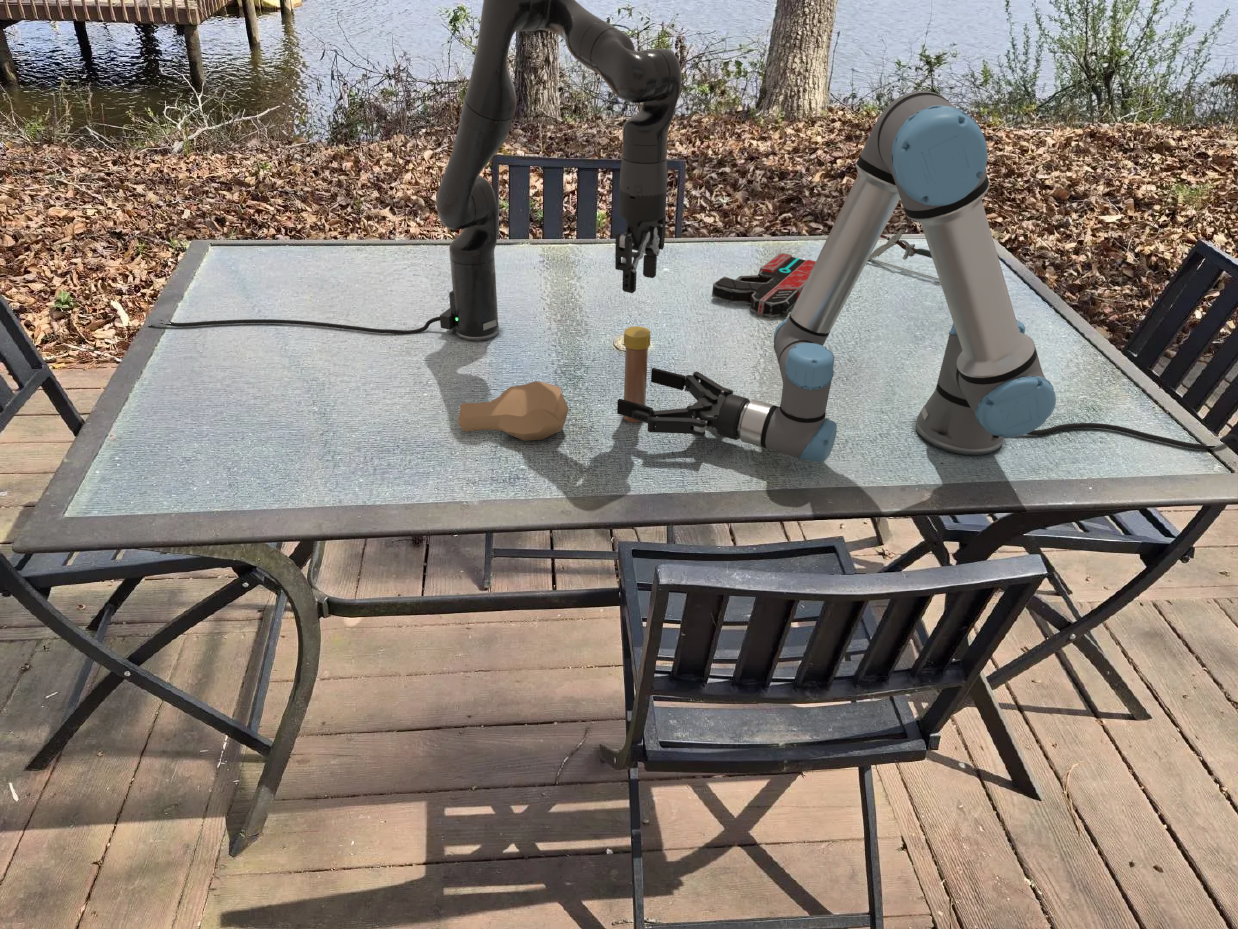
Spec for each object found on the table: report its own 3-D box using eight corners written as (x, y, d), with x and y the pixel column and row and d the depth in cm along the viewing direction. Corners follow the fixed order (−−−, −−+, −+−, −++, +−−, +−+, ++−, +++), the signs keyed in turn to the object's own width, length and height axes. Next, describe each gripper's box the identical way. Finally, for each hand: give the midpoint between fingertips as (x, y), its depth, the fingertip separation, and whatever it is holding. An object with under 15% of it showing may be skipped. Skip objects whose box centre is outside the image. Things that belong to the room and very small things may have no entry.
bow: (994, 294, 218) (1005, 255, 212) (991, 296, 216) (1002, 257, 211) (857, 254, 239) (863, 218, 233) (853, 256, 238) (860, 219, 232)
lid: (646, 351, 153) (646, 339, 152) (620, 347, 154) (621, 335, 153) (652, 340, 157) (653, 328, 156) (627, 337, 158) (628, 324, 157)
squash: (570, 447, 155) (562, 408, 149) (459, 455, 156) (447, 417, 150) (573, 407, 163) (565, 369, 157) (467, 416, 164) (456, 378, 158)
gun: (708, 284, 207) (784, 305, 199) (760, 245, 229) (831, 262, 221) (706, 302, 209) (781, 323, 201) (758, 261, 231) (828, 278, 223)
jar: (641, 424, 162) (645, 340, 152) (620, 420, 163) (623, 337, 153) (647, 414, 165) (651, 331, 156) (626, 410, 166) (629, 327, 157)
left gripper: (642, 172, 147) (638, 266, 156) (601, 194, 136) (599, 293, 145) (683, 179, 144) (676, 275, 153) (644, 202, 133) (639, 303, 143)
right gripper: (715, 473, 145) (602, 438, 153) (766, 407, 163) (663, 380, 171) (719, 434, 140) (603, 401, 148) (771, 371, 159) (666, 345, 167)
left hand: (639, 283), depth 149 cm, fingers open, 7 cm apart
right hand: (635, 389), depth 160 cm, fingers open, 13 cm apart
